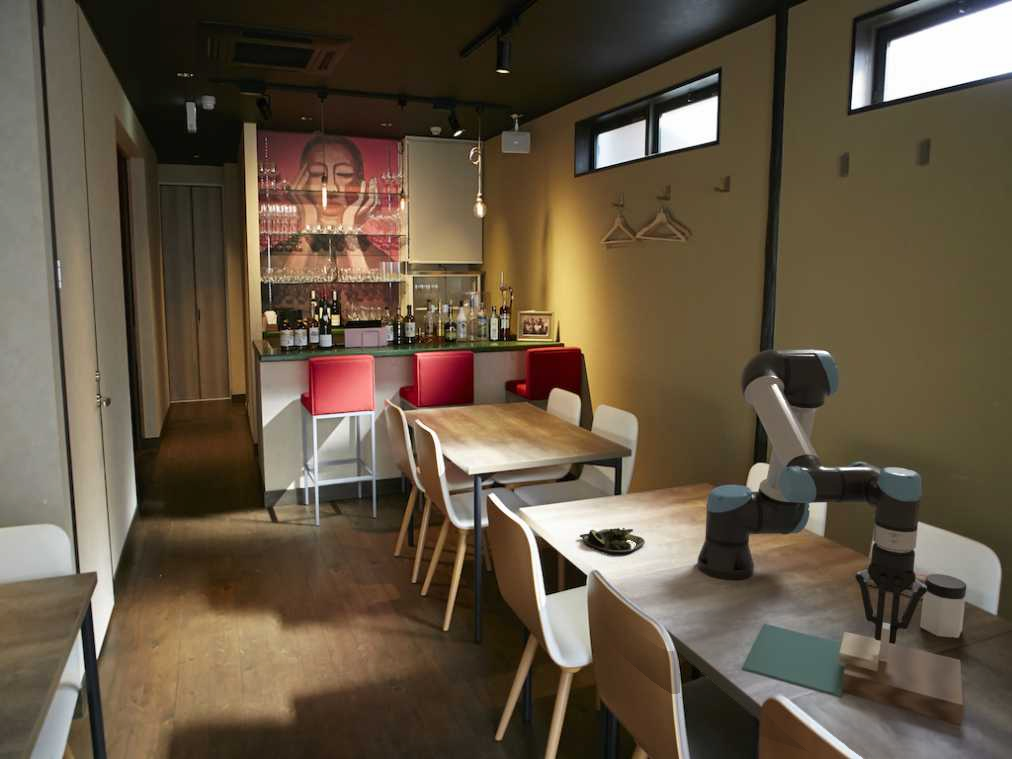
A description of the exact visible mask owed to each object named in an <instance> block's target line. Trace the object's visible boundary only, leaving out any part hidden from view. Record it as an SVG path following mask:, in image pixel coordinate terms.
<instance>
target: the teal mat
mask: <svg viewBox="0 0 1012 759" xmlns="http://www.w3.org/2000/svg"><path fill="white" fill-rule="evenodd" d="M841 644H842V642H839V641H836V640H832V639H828V638H824V637H819V636H816V635H813V634H807V633H803V632H798V631H796V630H791V629H789V628H788V629H787V628H783V627H780V626H776V625H775V626H774V625H771V624H767V623H763V624H762V627H761V628H760V630H759V632H758V634H757V637H756V639H755V640H754V642H753V644H752V647H751V649H750V651H749V653H748V654H747V656H746V658H745V660H744V662H743V664H742V667H741V669H742V670H746V671H748V672H752V673H756V674H759V675H763V676H766V677H770V678H774V679H777V680H779V681H780V680H781V681H784V682H787V683H791V684H794V685H798V686H802V687H804V688H808V689H813V690H815V691H819V692H822V693H826V694H829V695H834V696H837V697H842V693H843V692H842V687H843V675H844V670H845V665H846V664H845V663H841V662H839V653H840V648H841Z"/></svg>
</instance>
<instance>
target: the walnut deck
mask: <svg viewBox="0 0 1012 759" xmlns="http://www.w3.org/2000/svg"><path fill="white" fill-rule="evenodd" d="M961 669H962V667H961V659H956V658H953V657H949V656H944V655H940V654H936V653H933V652H928V651H924V650H920V649H915V648H911V647H907V646H903V645H900V644H899V645H898V644H896V643H895V644H892V643H889V648H888V658H887V660H886V659H882V658H879V662H878V670H877V671H874V670H870V669H866V668H862V667H858V666H853V665H849V664H846V665H845V670H844V675H843V687H842V693H845V694H849V695H852V696H855V697H859V698H864V699H866V700H870V701H874V702H876V703H877V702H878V703H881V704H884V705H887V706H892V707H896V708H899V709H902V710H906V711H910V712H912V713H913V712H914V713H917V714H920V715H924V716H928V717H932V718H934V719H938V720H941V721H945V722H949V723H952V724H956V725H961V724H962V716H963V708H964V702H963V687H962V686H963V685H962V671H961ZM961 726H962V725H961Z"/></svg>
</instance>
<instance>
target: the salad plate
mask: <svg viewBox="0 0 1012 759" xmlns="http://www.w3.org/2000/svg"><path fill="white" fill-rule="evenodd" d="M633 532H634V529H632V528H628V529H626V528H624V527H623V528H622V529H620V527H617V528H616V527H615V528H607V529H605V528H603V529H601V530H598V531H597V530H595V529H591V530H589V532H588V533H584V534H580V535H579V538H581V539H583V542H584V544H585V546H587V547H588V548H589V547H590V549H592V548H593V549H592V550H594V549H595V550H594V551H597V550H598V551H597V552H599V551H600V553H602V552H604V553H603V554H605V553H607V554H606V555H610V554H612V556H624V555H628V554H631V553H634V551H636V550H638V549H640V548H642V546H644V545H645V543H646V541H645V539H644V538H643V537H641V536H638V535H634V534H631V533H633ZM627 540H631V541H633V542H635V543H636V546H635V545H634V547H633V549H632V544H630V542H626V541H627ZM633 542H632V543H633Z"/></svg>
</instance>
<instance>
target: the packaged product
mask: <svg viewBox="0 0 1012 759" xmlns="http://www.w3.org/2000/svg"><path fill="white" fill-rule="evenodd" d="M867 569H868V566H867V567H865V570H867ZM914 573H915V576H916V579H917V580H918V581H920V582H921V583H925V580H926V576H927V575H928V574H922V573H918V572H916V571H914ZM871 585H872V586H871ZM868 586H871V587H875V588H878V587H877V586H876V584H875V583H874V581H873V579H872V578H871V576H870V575H869V581H868ZM912 588H913V584H911V585H910V586H909V587H908V588H907V589H905V590H904V591H903V592H900V593H901V594H900V595H903V594H904V596H908V597H911V595H912V593H913V589H912ZM922 599H923V596H922V597H921V598H920V599H919V600H922Z"/></svg>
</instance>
